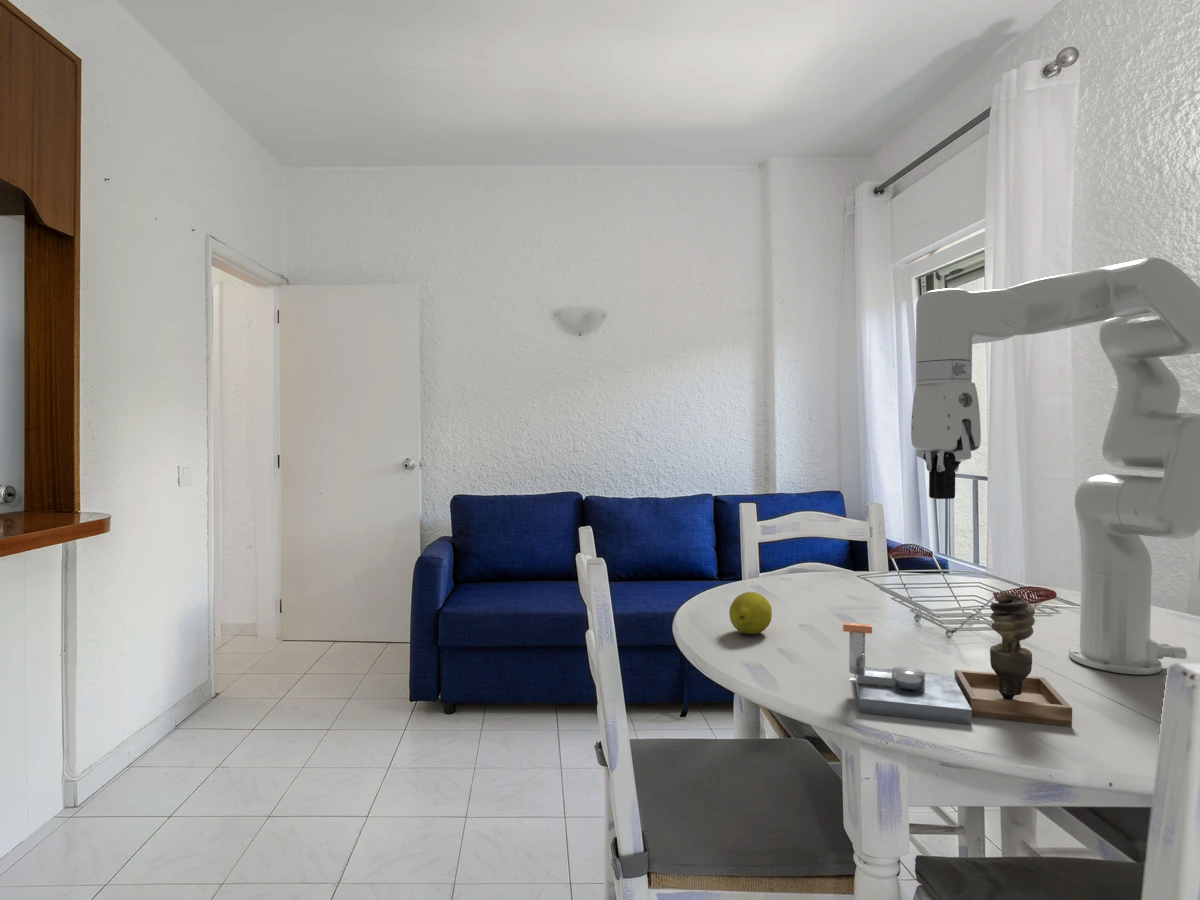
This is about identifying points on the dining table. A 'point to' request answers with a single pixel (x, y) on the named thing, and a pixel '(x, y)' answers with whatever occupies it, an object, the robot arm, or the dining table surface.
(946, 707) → the crank base
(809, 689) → the dining table surface
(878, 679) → the crank
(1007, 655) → the light bulb
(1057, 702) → the tray
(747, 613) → the lemon
